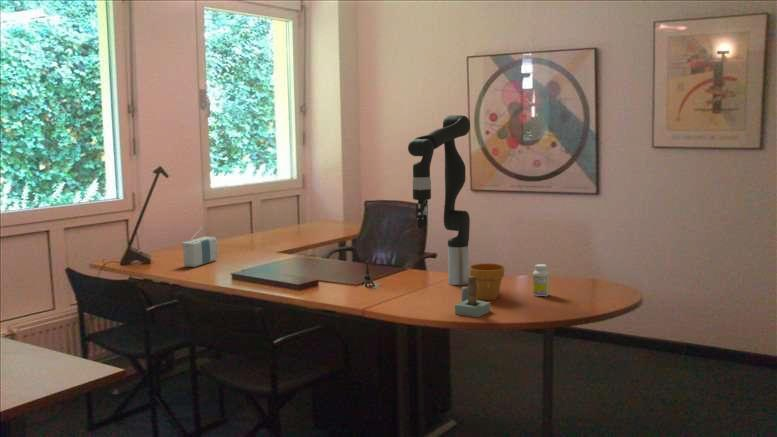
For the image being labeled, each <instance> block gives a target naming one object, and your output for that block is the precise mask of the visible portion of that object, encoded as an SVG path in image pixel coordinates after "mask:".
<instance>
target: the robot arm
mask: <svg viewBox="0 0 777 437" xmlns="http://www.w3.org/2000/svg"><path fill="white" fill-rule="evenodd" d="M470 130H471V122H470V119H469V118H468V117H467V116H465V115H462V114H461V115H459V114H458V115H456V114H455V115H445V117H444V118H443V121H442V127H440V128H436V129H434V130H432V131H430V132H429V133H427V134H425V135H422V136H418V137H415V138H413V139H411V141H409V143H408V146H407V150H408V153H409V154H410V155H411V156H412V157H421V160H420V161H417V162H414V163H413V165H412V199H413V200H415V201H417V203H416V205H415V207H416V208H415V210H416V211H415V212H416V213H415V214H416V215H415V216H416V217H415V218H416V220H417V228H418V229H424V226H427V225H428V214H429V204H428V202H429V200H431V199H432V181H431V164H432V159H433V156H434V152H435V150H436V149H438V148H439V147H441V146H442V145H444V146H443V147H444V205H443V207H444V209H443V227H444V229H446V230H447V231H456V232H457V235H456V236H454V237H451V238H449V239H448V240H447V276H448V279H447V282H448V285H451V286H464V285H468V277H469V276H470V262H469V243H470V242H469V241H470V227H471V226H470V225H471V223H470V221H471V219H470V218H471V217H470V215H469V212H468V211H466V210H462V209H461V210H460V209H459V210H457V209H456V207H455V205H456V200H457V197H458V195H459V194H460V192H461V190H462V189H463V187H464V185H465V183H466V164H465V162H464V160H463V158H462V157H461V155H460V153H459V152H458V150H457V147H456V141H455V140H456V139H457V138H460V137H464V136H466V135H468V134H469V132H470Z"/></svg>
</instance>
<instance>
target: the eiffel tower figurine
mask: <svg viewBox="0 0 777 437" xmlns="http://www.w3.org/2000/svg"><path fill="white" fill-rule="evenodd" d="M365 262H366V265H365V266H366V267H365V269H366V270H365V276H364V279H363V281H362V282H361V283H360V285H361V284H362V285H365V287H366V288H371V287H374V288H371V289H370V290H371V291H373V290H374V291H376V289H378V288H379V287H380V286H381V285H382V284H381V283H379V282H373V280H372V279H371V276H370V272H369V263H368V262H369V260H368V259H366V261H365ZM367 284H371V285H369V287H367ZM365 287H364V288H365ZM375 287H376V288H375Z"/></svg>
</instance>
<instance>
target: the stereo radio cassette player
mask: <svg viewBox="0 0 777 437" xmlns="http://www.w3.org/2000/svg"><path fill="white" fill-rule="evenodd" d="M201 229H202V228H199V230H197V232H196V233H195V234H194V235H193V236H192V237H191V238H190V240H187V241H183V242H181V246H182V252H183V266H184V267H186V268H187V267H188V268H193V267H194V268H195V267H199V266H202V265H205V264H208V263H211V262H215V261H216V260H217V259H218V256H219V255H218V253H219V252H218V243H217V238H216V236H202V237H198V238H195V236H196V235H198V233H199V232H200V231H201Z"/></svg>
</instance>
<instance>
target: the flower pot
mask: <svg viewBox="0 0 777 437" xmlns="http://www.w3.org/2000/svg"><path fill="white" fill-rule="evenodd" d="M469 276H475V277H476V299H479V300H482V301H483V300H484V301H489V300H490V299H492V300H496V299H498V296H499V293H500V289H501V288H500V287H501V283H502V280H503V278H504V277H505V266H504V265H501V264H499V263H476V264H472V265H469Z"/></svg>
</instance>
